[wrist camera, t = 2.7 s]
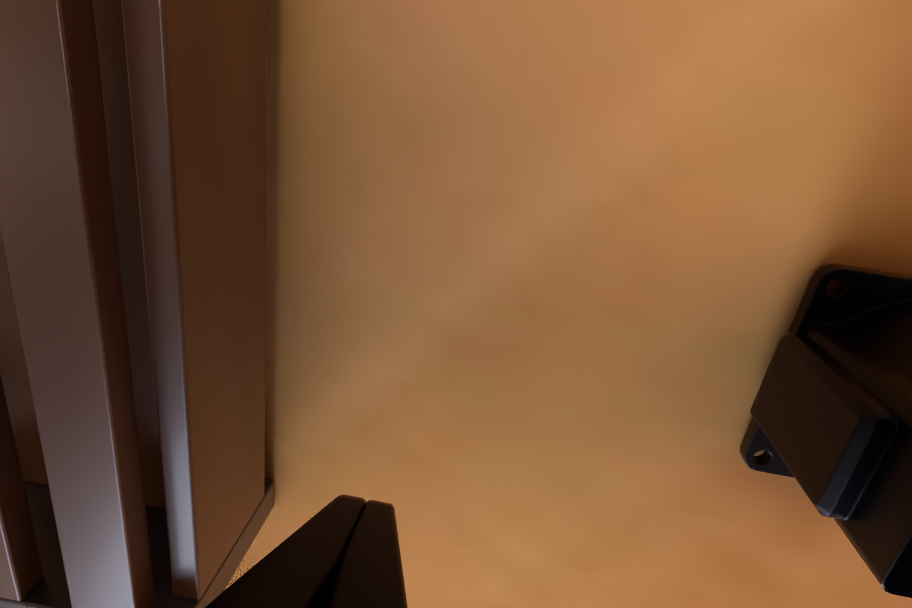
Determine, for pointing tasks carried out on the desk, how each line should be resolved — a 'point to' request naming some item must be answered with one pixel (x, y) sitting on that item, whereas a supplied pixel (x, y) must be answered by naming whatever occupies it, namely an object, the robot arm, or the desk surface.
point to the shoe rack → (131, 299)
